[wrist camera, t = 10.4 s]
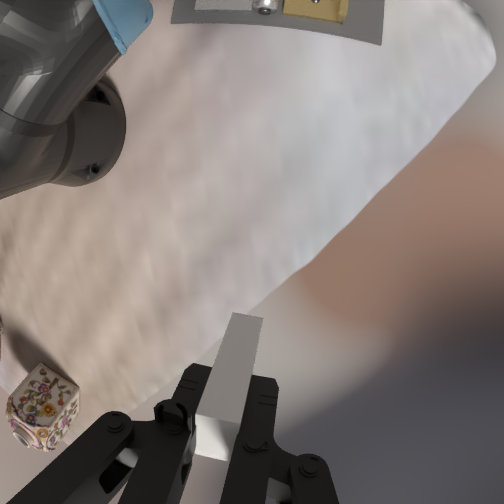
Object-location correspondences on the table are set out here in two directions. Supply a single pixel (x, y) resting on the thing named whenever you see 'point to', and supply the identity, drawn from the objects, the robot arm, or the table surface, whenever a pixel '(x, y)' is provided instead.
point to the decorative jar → (43, 408)
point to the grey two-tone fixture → (296, 19)
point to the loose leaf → (317, 9)
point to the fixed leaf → (237, 6)
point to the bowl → (0, 329)
